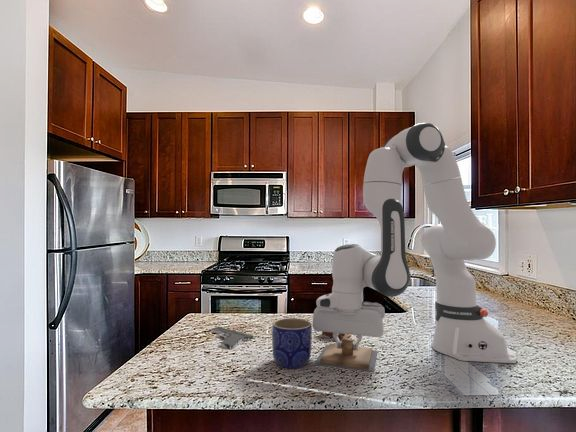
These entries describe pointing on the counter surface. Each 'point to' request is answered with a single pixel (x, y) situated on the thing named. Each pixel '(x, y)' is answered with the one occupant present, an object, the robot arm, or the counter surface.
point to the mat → (371, 367)
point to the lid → (347, 355)
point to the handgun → (231, 337)
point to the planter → (291, 342)
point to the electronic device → (338, 335)
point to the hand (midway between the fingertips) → (347, 348)
